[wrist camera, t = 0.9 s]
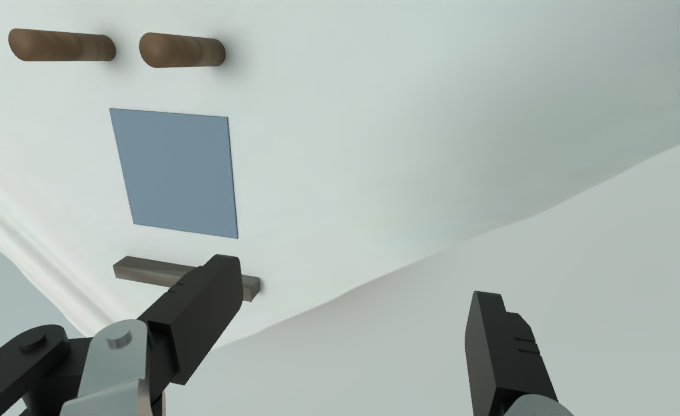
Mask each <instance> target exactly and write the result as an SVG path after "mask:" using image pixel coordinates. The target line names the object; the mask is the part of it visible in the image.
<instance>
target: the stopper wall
mask: <svg viewBox="0 0 680 416" xmlns="http://www.w3.org/2000/svg"><path fill="white" fill-rule="evenodd" d="M113 268H114V272H115V276H116V278H120V279H125V280H131V281H137V282H142V283H148V284H154V285H159V286H165V287H172V286H173V285H174V284H175V285H176V282H177V281H178V280H179V279H180V278H182V277H183V276H184V275H185V274H186V273H188V272H189V271H191V270H193V269H195V268H196V267H190V266H184V265H178V264H172V263H166V262H159V261H153V260H147V259H141V258H135V257H129V256H126V257H125V258H123V259H122V260H120V261H119V262H117V263H116V264H114V265H113ZM241 276H242V284H243V293H244V294H243V300H244V301H249V302H252V300H253V299H254V297H255V296H256V295H257V293H258V292H259V278H257V277H251V276H245V275H241Z"/></svg>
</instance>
